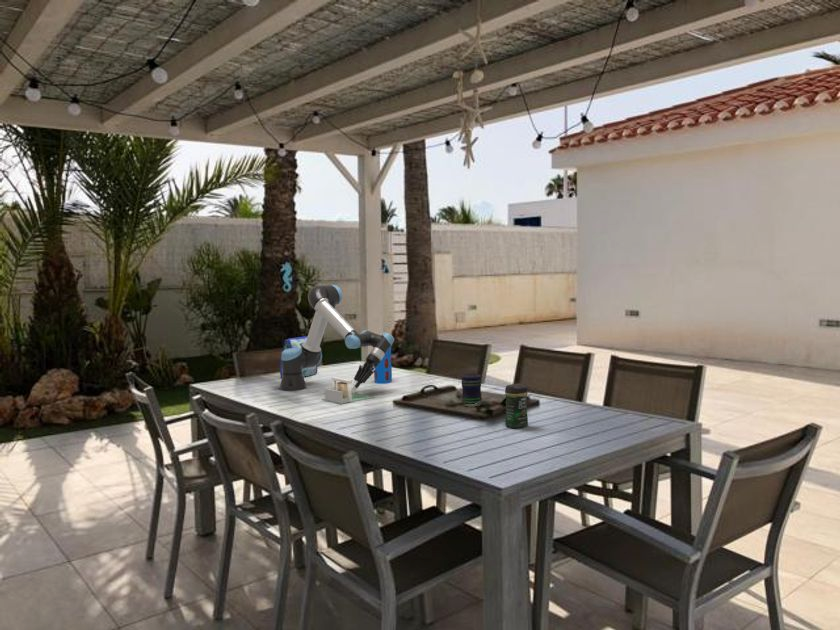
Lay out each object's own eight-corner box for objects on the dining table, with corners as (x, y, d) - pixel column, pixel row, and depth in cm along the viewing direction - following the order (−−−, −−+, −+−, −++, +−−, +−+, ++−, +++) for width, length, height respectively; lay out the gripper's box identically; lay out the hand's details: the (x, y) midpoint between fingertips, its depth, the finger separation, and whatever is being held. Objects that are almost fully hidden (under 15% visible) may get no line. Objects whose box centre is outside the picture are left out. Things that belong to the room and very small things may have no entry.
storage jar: (471, 408, 330) (470, 377, 329) (457, 405, 337) (457, 375, 336) (485, 405, 336) (485, 375, 335) (472, 402, 344) (471, 373, 343)
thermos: (393, 380, 416) (391, 340, 414) (390, 383, 405) (389, 342, 403) (375, 380, 417) (374, 340, 415) (372, 383, 406) (371, 342, 404)
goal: (324, 399, 360) (324, 378, 359) (335, 397, 364) (334, 377, 363) (341, 403, 348) (340, 382, 347) (352, 401, 352) (351, 380, 352)
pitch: (321, 399, 362) (321, 398, 362) (355, 393, 377) (355, 392, 376) (340, 404, 349) (340, 403, 349) (374, 397, 363) (374, 397, 363)
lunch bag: (298, 380, 427) (296, 339, 425) (278, 378, 435) (276, 338, 433) (320, 374, 446) (319, 335, 444) (301, 373, 454) (300, 334, 452)
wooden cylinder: (334, 400, 358) (334, 383, 357) (344, 397, 363) (344, 381, 362) (343, 401, 353) (342, 384, 352) (353, 399, 358) (352, 382, 358)
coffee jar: (515, 429, 285) (514, 386, 283) (502, 426, 291) (501, 384, 290) (531, 426, 291) (530, 383, 289) (518, 423, 297) (517, 381, 295)
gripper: (386, 362, 367) (362, 397, 358) (371, 360, 377) (348, 394, 368) (378, 354, 364) (354, 389, 354) (363, 352, 373) (340, 386, 364)
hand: (351, 391), depth 361 cm, fingers closed
